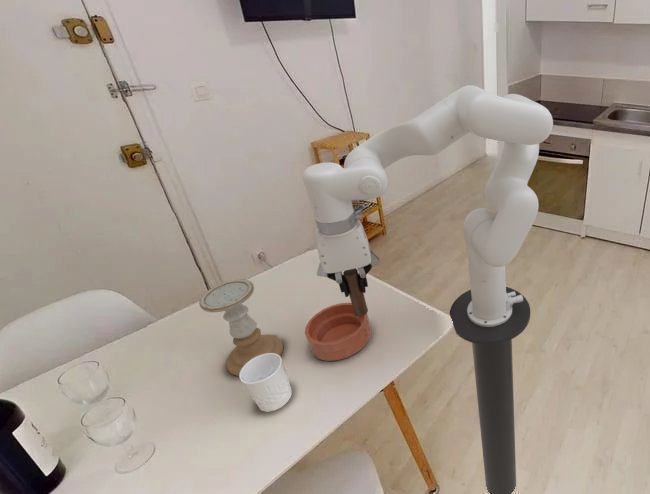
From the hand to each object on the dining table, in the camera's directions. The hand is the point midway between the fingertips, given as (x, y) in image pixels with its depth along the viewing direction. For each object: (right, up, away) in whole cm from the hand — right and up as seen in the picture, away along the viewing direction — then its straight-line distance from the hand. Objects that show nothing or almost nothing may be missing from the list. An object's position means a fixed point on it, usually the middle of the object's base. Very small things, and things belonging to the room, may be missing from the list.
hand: (355, 290), depth 93 cm
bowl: (-8, -15, +12) cm, 20 cm away
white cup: (-17, -24, -3) cm, 29 cm away
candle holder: (-27, -18, +8) cm, 34 cm away
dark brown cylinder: (0, -6, +3) cm, 7 cm away
